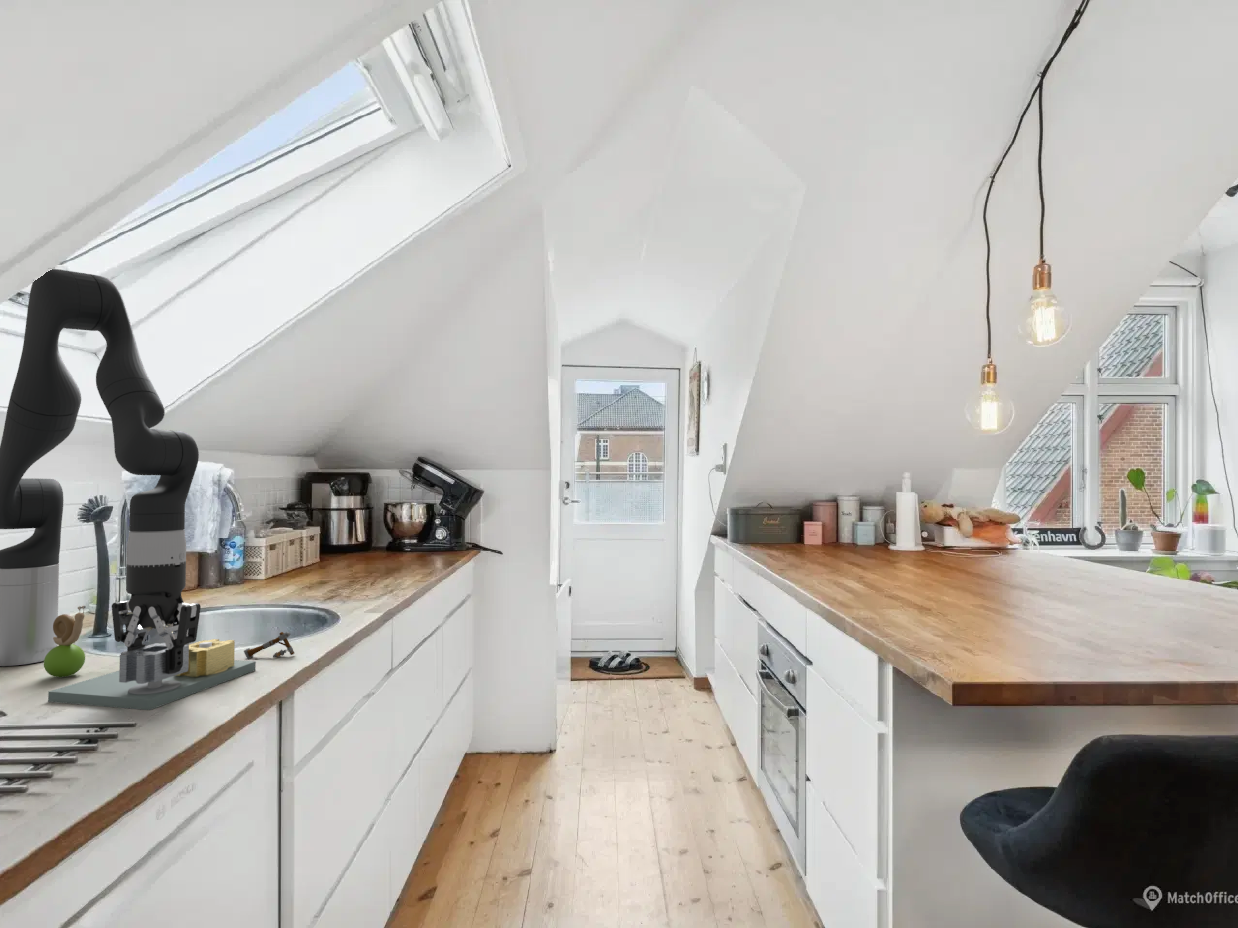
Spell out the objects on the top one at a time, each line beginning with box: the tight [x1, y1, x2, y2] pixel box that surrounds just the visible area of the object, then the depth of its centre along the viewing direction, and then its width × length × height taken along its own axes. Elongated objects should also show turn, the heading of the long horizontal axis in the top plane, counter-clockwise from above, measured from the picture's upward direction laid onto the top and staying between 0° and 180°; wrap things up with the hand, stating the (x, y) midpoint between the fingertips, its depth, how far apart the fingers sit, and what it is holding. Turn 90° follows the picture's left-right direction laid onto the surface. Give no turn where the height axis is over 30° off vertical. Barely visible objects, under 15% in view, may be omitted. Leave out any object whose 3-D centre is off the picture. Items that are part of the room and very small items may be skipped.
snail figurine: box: [43, 605, 87, 678], centre depth 114 cm, size 5×6×12 cm
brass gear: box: [175, 638, 236, 677], centre depth 113 cm, size 6×8×4 cm
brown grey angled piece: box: [243, 631, 295, 660], centre depth 127 cm, size 2×8×5 cm, turn 99°
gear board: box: [47, 642, 256, 711], centre depth 110 cm, size 18×21×6 cm
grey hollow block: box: [118, 642, 190, 684], centre depth 103 cm, size 6×8×4 cm
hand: (154, 670), depth 103 cm, fingers closed on grey hollow block, 6 cm apart
